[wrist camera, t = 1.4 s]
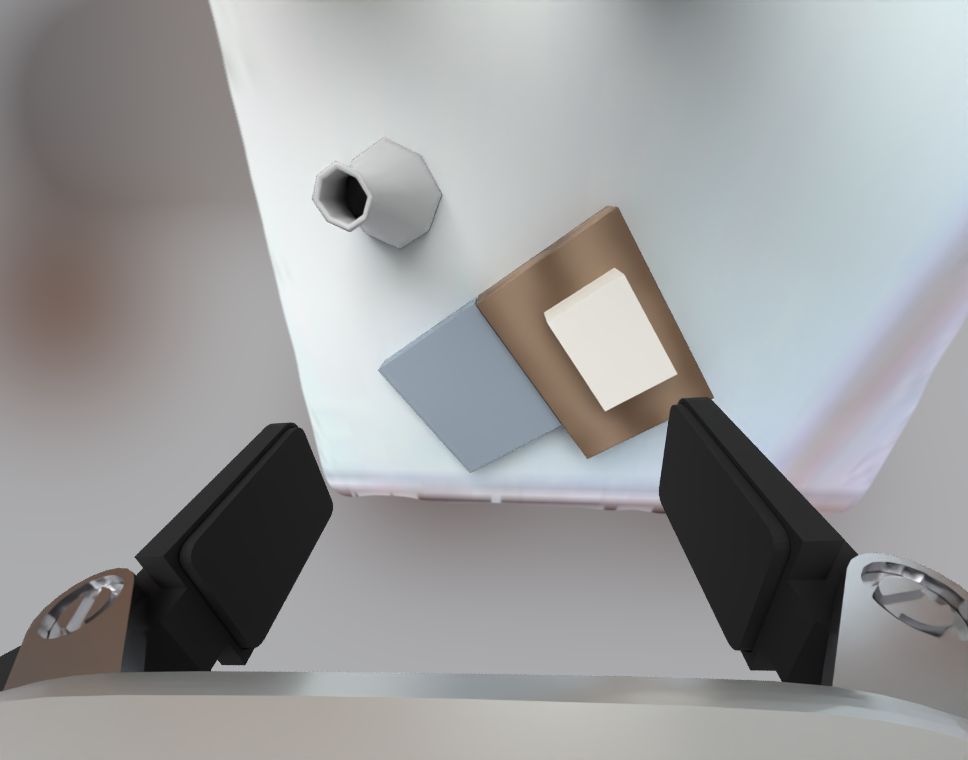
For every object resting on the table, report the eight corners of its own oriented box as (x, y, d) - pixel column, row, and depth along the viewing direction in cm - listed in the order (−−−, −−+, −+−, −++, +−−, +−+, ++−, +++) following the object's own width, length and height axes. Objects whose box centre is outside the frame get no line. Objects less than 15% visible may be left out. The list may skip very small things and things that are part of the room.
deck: (607, 205, 28) (617, 207, 25) (697, 381, 34) (714, 397, 32) (478, 295, 32) (476, 304, 29) (581, 440, 38) (587, 458, 35)
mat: (476, 297, 32) (474, 303, 30) (559, 413, 37) (561, 424, 35) (384, 361, 35) (377, 370, 33) (471, 460, 40) (470, 472, 38)
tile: (614, 267, 27) (624, 274, 25) (664, 360, 30) (677, 374, 28) (543, 312, 29) (546, 322, 27) (598, 396, 32) (605, 411, 30)
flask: (402, 264, 31) (361, 293, 22) (329, 200, 29) (250, 203, 20) (458, 192, 28) (437, 192, 19) (381, 116, 26) (318, 76, 17)
